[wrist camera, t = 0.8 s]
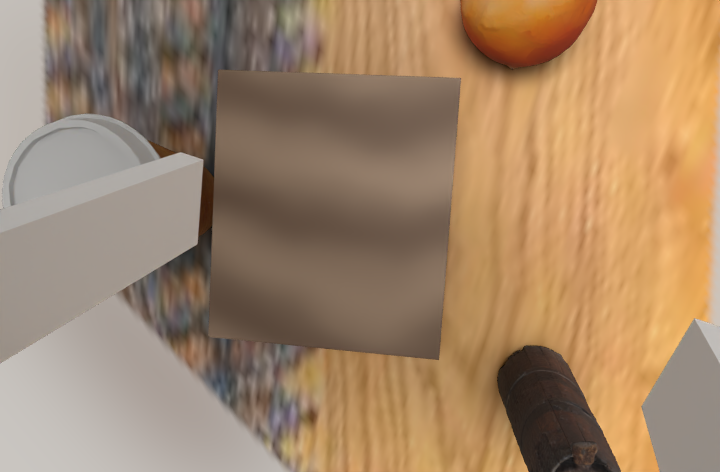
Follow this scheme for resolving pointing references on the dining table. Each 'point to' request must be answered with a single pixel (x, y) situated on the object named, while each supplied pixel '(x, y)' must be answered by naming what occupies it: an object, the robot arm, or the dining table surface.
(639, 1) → the dining table surface
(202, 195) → the disposable coffee cup
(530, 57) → the fruit
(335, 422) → the dining table surface
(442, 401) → the dining table surface
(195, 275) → the dining table surface
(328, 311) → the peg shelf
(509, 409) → the butter churn
